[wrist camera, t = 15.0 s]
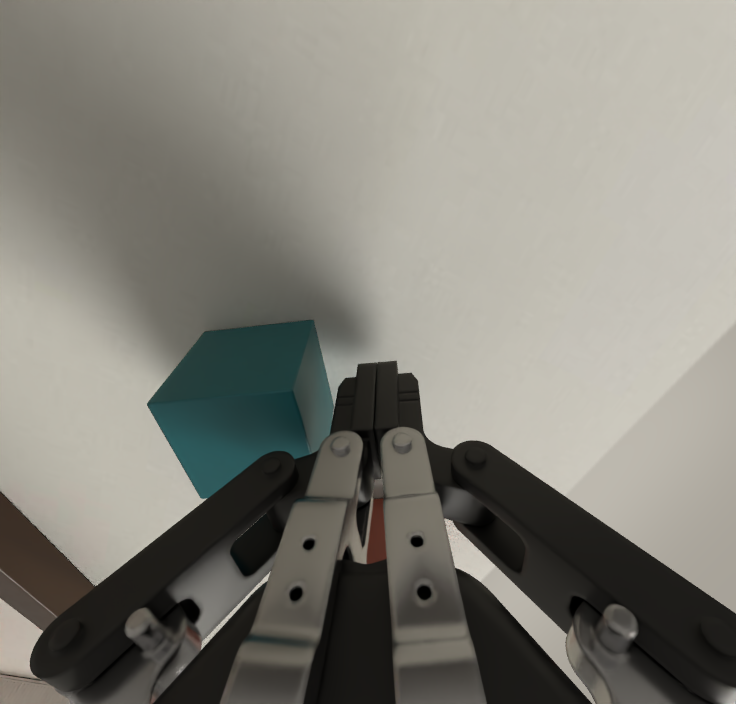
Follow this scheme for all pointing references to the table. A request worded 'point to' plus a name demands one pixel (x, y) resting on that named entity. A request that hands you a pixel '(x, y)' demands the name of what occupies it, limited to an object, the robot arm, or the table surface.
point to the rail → (35, 571)
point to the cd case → (28, 692)
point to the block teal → (244, 400)
